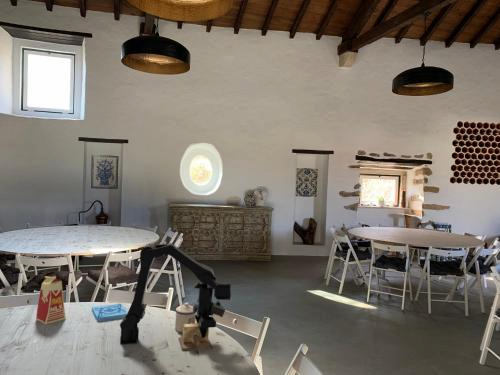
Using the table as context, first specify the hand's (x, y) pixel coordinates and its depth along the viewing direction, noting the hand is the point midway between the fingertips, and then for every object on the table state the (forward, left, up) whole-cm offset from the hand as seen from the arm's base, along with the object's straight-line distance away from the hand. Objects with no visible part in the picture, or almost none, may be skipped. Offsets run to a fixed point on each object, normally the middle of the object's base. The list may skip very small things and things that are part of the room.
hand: (202, 335), depth 160 cm
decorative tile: (-37, +37, -4) cm, 52 cm away
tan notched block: (-3, 0, -2) cm, 3 cm away
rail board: (-3, 0, -3) cm, 4 cm away
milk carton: (-62, +34, -3) cm, 71 cm away
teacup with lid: (-4, +16, -3) cm, 17 cm away
